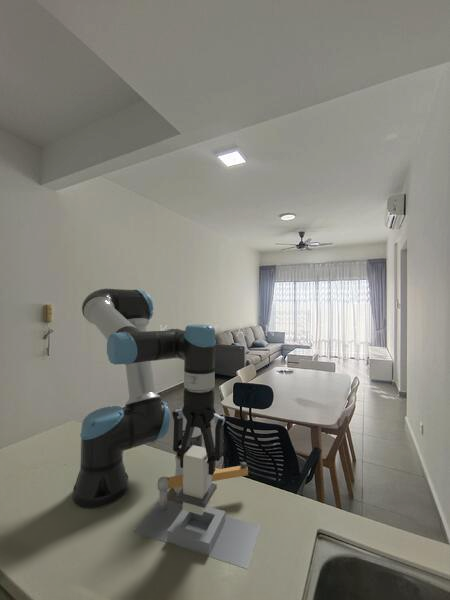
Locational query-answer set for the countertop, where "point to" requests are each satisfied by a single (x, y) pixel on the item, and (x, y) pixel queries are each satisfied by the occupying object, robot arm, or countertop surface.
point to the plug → (195, 482)
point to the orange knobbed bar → (219, 474)
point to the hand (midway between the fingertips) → (197, 483)
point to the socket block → (201, 531)
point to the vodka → (195, 440)
